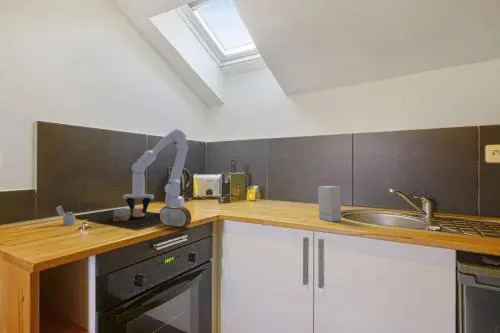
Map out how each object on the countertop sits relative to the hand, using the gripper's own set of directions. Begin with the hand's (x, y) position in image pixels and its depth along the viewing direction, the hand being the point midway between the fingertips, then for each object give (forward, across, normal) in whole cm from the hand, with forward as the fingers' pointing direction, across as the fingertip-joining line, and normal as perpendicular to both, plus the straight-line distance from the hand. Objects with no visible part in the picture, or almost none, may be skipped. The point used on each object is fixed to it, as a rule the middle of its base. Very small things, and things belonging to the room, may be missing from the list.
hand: (138, 213), depth 136 cm
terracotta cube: (+2, 0, 0) cm, 2 cm away
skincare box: (+2, -93, +7) cm, 93 cm away
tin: (+2, -25, +22) cm, 33 cm away
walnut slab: (+2, +4, +10) cm, 11 cm away
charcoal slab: (-1, +3, +10) cm, 10 cm away
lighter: (+2, +23, +20) cm, 30 cm away
